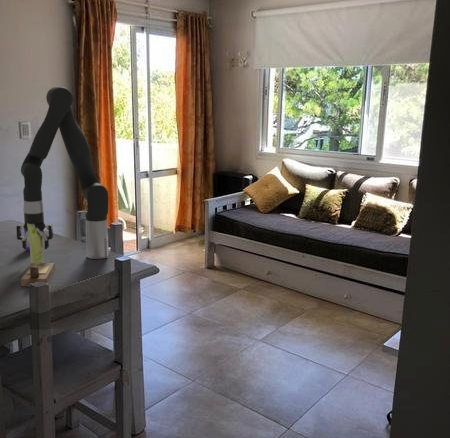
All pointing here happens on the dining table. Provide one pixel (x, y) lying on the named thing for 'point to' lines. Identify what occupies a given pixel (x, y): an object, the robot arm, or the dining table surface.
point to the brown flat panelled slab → (38, 273)
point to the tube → (35, 244)
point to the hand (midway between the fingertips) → (35, 248)
